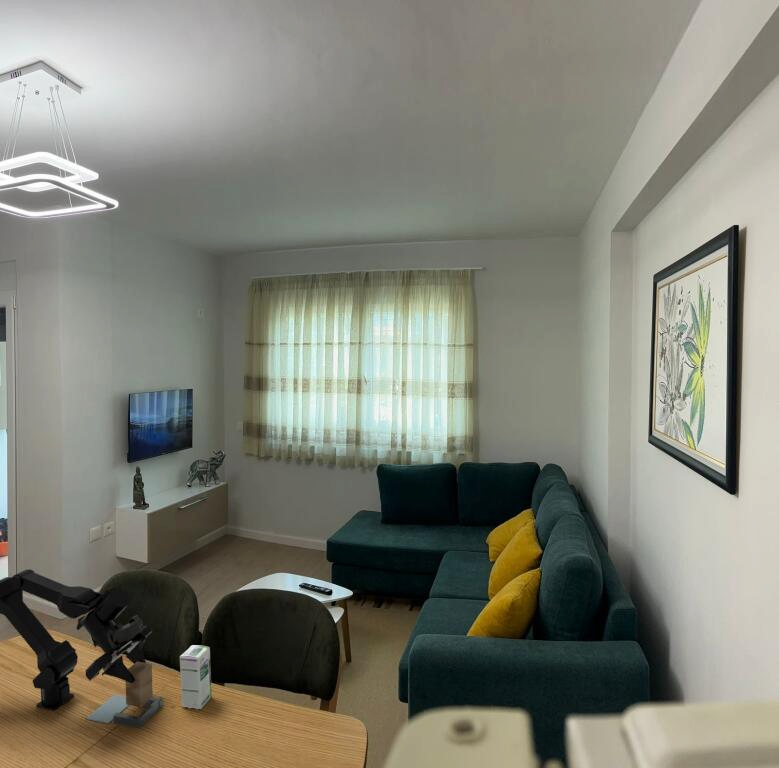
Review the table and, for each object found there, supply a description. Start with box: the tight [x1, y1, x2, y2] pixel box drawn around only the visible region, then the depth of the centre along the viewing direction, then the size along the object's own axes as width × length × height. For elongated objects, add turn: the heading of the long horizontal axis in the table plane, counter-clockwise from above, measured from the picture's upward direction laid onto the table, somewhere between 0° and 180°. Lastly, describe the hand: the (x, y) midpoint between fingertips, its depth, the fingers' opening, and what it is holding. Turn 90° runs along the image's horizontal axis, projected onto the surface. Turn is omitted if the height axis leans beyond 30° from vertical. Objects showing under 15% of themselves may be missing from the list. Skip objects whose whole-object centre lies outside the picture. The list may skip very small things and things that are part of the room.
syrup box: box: [179, 644, 213, 710], centre depth 146 cm, size 6×6×14 cm
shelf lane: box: [112, 696, 164, 729], centre depth 141 cm, size 8×9×2 cm
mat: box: [85, 694, 130, 725], centre depth 144 cm, size 7×10×1 cm
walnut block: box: [125, 662, 154, 708], centre depth 141 cm, size 4×4×9 cm
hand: (140, 676), depth 141 cm, fingers closed on walnut block, 4 cm apart
